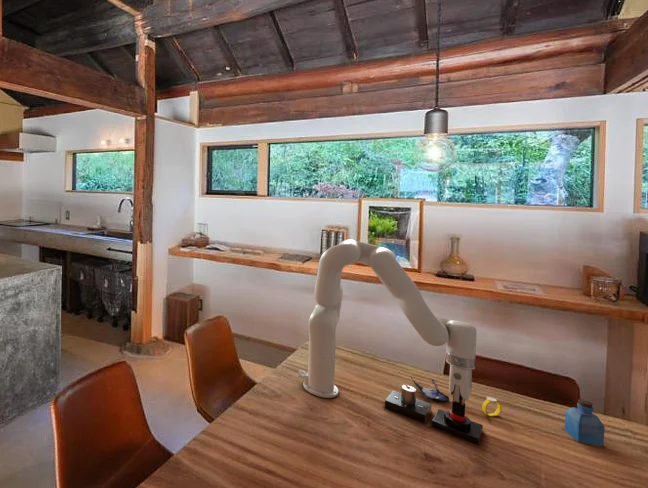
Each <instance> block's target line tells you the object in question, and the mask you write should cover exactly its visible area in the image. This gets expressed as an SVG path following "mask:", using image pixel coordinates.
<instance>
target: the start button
mask: <svg viewBox="0 0 648 488" xmlns="http://www.w3.org/2000/svg"><path fill="white" fill-rule="evenodd" d="M449 411H450V417H451V418H452V419H454V420H457V421H460V422H465V416H466V414H465V415H464V417H462V416H459V415H456V414H454V413H452V410H449Z"/></svg>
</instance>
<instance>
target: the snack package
mask: <svg viewBox="0 0 648 488" xmlns="http://www.w3.org/2000/svg"><path fill="white" fill-rule="evenodd" d="M410 378H411V380H412V381H413V384H414V385H415V386H416V388H417V390H419V392H420V393H422V394H423V395H424V396H425V398H427V400H436V401H437V402H438V403H439V402H441V403H445V402H450V397H449V396H448V395H446V394H444V393H443V392H441V391H440V390H439V388H438V385H437V384H436V382H435V380H434V379H431V380H430V378H429V379H428V380H430V381H431V382H432V384H433V385H434V387H435V388H432V387H431V388H430V387H426V386H423V385H421V383H422V382H421V381H419V383H418V382H416V380H414V378H413V377H412V376H410Z"/></svg>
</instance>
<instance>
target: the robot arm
mask: <svg viewBox="0 0 648 488" xmlns="http://www.w3.org/2000/svg"><path fill="white" fill-rule="evenodd" d="M356 263H358V264H362V265H364V266H368V267H370V269H371V270H372V271H373V273H374V274H375V275H376V277H377V278H378V279H379V281H380V282H381V283H382V284H383V286H384V287H385V288H386V291H388V292H389V294H390V295H391V297H392V298H393V299H394V301H395V303H396V304H397V306H398V307H399V308H400V310H401V311H402V312H403V315H404V316H405V318H407V320H408V322H409V323H410V324H411V325H412V326H411V327H413V328H414V330H415V331H416V332H417V333H418V335H419V336H420V338H421V339H422V340H423V341H424V342H425V343H427V344H429V345H431V346H434V347H441V346H444V345H446V354H445V361H446V363H447V364H448V365H449V378H448V379H449V380H448V381H449V382H448V392H449V393H448V394H449V395H450V396H452V402H451V411H452V413H454V414H456V415H459V416H462V417H464V415H465V416H466V401H468V400H469V399H470V397H471V395H472V392H473V380H472V379H473V370H475V369H476V359H477V357H476V356H477V355H476V352H477V328H476V327H475V326H474V324H471V323H469V322H466V321H464V320H463V321H462V320H452V319H448V318H446V317H442V316H438V315H436V314H434V313H433V311H432V310H431V309H430V308H429V306H428V305H427V302H426V301H425V299H424V297H423V295H422V293H421V291H420V289H419V287H418V285H417V283H415V282H414V281H413V279H412V278H411V277H410V276H409V275H408V272H406V270H405V269H404V268H403V267H402V266H401V264H400V262H399V261H398V260H397V258H396V255H395V253H394V252H393V251H392V250H390V249H389V248H387V247H383V246H379V245H375V244H372V243H367V242H364V241H360V240H357V239H356V240H355V239H348V238H347V239H344V240H342V241H341V242H340V243H338V244H336V245H333V246H331V247H329V248H327V249H326V250H324V252H323V253H322V254H321V256H320V258H319V262H318V267H317V273H316V277H315V286H314V289H313V290H314V291H313V297H314V299H315V304H314V305H315V306H314V309H313V311H312V313H311V314H310V316H309V319H308V360H307V361H308V363H307V364H308V365H307V371H305V370H303V369H298V372H297V373H298V378H301V379H303V383H302V386H303V388H304V389H305V390H306V392H308V393H310V394H311V395H313V396H317V397H319V398H326V399H332V398H335V397H337V396H338V395H339V388H338V387H337V385H335V375H336V374H335V373H336V371H335V370H336V345H337V344H336V343H337V342H336V340H337V339H336V335H337V327H338V323H339V321H340V316H341V309H342V303H343V295H344V294H343V293H344V292H343V285H342V284H341V281H342V276H343V269H344V268H345V267H347V266H350V265H354V264H356Z"/></svg>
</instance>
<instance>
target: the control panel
mask: <svg viewBox="0 0 648 488" xmlns="http://www.w3.org/2000/svg"><path fill="white" fill-rule="evenodd" d="M384 409H386V410H388V411H391V412H393V413H396V414H399V415H401V416H404V417H406V418H409V419H411V420H413V421H416V422H419V423H421V424H424V425H425V424H426V422H427V421H428V419H429V417H430V416H431V413H432V403H430V402H427V401H425V400H421V399H419V398H416V404H415V405H407V404H405V403H403V402H402V401H401V391H396V390H394V389H393V390H392V391H391V392H390V393H389V395H388V396H387V397H386V398H385V400H384Z"/></svg>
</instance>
